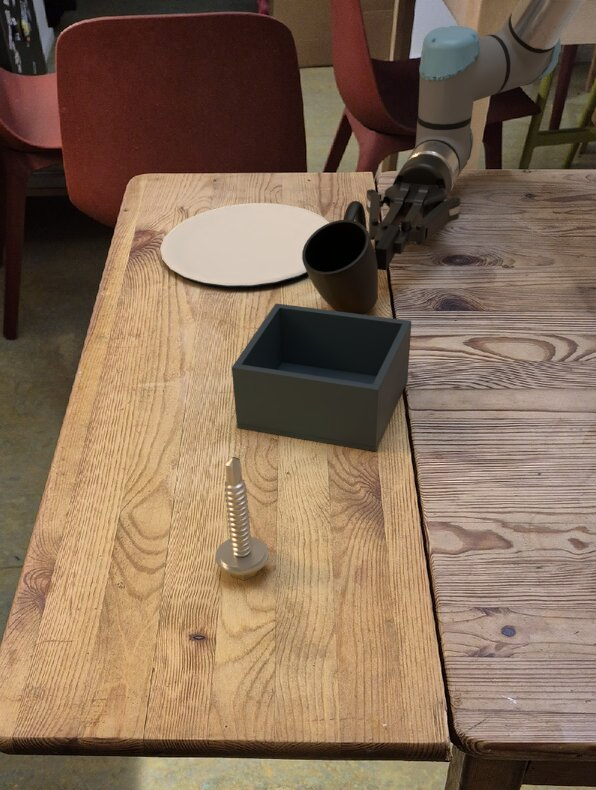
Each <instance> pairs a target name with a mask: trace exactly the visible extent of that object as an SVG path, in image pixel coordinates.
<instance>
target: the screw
mask: <svg viewBox="0 0 596 790" xmlns="http://www.w3.org/2000/svg"><path fill="white" fill-rule="evenodd" d="M242 472H243V471H242V463H241V459H240V458H239V457H237V456H232V457H231V458H229V459H227V460H226V462H225V476H226V481H225V482H224V493H225V494H224V496H225V503H226V509H227V510H226V514H227V519H228V520H227V522H228V529H229V530H228V531H229V533H228V534H229V538H228V539H226V540H224V541H223V542H222V543H221V544H220V545H218V547H217V548H216V552H215V561H216V564H217V566H218V568H220V569H221V570H222V571H223V572H225V573H226V574H230V577H232V578H236V579H238V580H241V581H246V580H248V579H251V578H252V577H255V576H257V575H258V571H260V570H261V569H262V568H264V567H265V566H266V565H267V563H268V561H269V558H270V552H269V547H268V546H267V544H266V543H265V542H264V541H263V540H261V539H259V538H257V537H254V536H252V535H251V534H252V533H251V526H250V523H251V522H250V512H249V505H248V504H249V501H248V494H247V492H248V491H247V490H248V489H247V483H246V482H245V479H243V473H242Z"/></svg>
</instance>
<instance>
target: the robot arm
mask: <svg viewBox="0 0 596 790" xmlns="http://www.w3.org/2000/svg"><path fill="white" fill-rule="evenodd" d="M586 2H587V0H518V2H517V4H516V5H515V7H514V8H513V10H512V12H511V13H510V15H509V16H508V17H507V19H506V21H505V22H504V24H503V26H502V27H501V28H500V29H499V30H498V31H496V32H492V33H489V34H485V35H482V36H479V32H477V30H476V29H474V28H472V27H469V26H463V25H449V26H439V27H437V28H434V29H432V30H430V31H429V32H428V33H426V35H425V36H424V38H423V42H422V49H421V52H420V63H419V67H418V68H419V69H418V72H419V85H418V86H419V88H418V89H419V91H418V110H417V111H418V112H417V120H416V133H415V134H416V135H415V136H416V137H415V145H414V148H413V149H412V151H411V153H410V155H409V156H408V158H407V159H406V161H404V164H403V165H402V167H401V168H400V170H399V172H398V174H397V175H396V177H395V179H394V181H393V184H392V185H391V186H389V187H387V188H386V189H385V191H384V192H383V193H382V192H378V191H376V189H367V190H366V197H365V199H366V203H365V209H366V212H367V213H368V214H369V215H368V233H369V236H370V239H371V241H373V248H374V251H375V254H376V259H377V266H378V271H387V270H388V267H389V266H390V264H391V262H392V260H393V259H394V257H395V256H396V254H397V255H402V254H404V252H405V250H406V248H407V247H408V246H410V244H411V243H414V244H415V245H416V246H423V245H425V244H427V242H428V241H430V240H431V239H432V238H433V237H434V236H435V235H437V234H438V233H439V232H440V231H441V230H442V229H443V228H444V227H445V226H447V225H448V224H449V223H451V222H453V221H456V220H458V219H459V218H460V210H461V201H462V200H461V197H458V196H456V197H451V198H449V196H450V194H451V193H452V190H453V189H454V186H455V185H456V183H457V181H458V178H459V176H460V175H461V173H462V171H463V170H464V169H465V167H466V166H467V165H468V161H469V160H470V159H471V155H472V151H473V147H474V133H473V131H472V129H471V126H472V118H473V109H474V102H476V101H479V100H482V99H485V98H488V97H489V98H490V97H492V96H495V95H497V94H500V93H503V92H507V91H510V90H513V89H516V88H520V87H524V86H529V85H532V84H534V83H536V82H537V81H538V80H541V79H544V78H545V77H547V76H548V75H550V74H552V72H553V71H554V69H555V68H556V67H557V65H558V62H559V59H560V53H561V52H562V42H561V38H562V37H563V36H564V33H565V32H566V31H567V29H568V28H569V26H570V25H571V24H572V22H573V20H574V19H575V18H576V16H578V13H579V12H580V10H581V9H582V7H583V6H584V5H585V3H586ZM384 205H386V206H387V208H388V209H389V210H388V211H387V212H386V215H385V216H384V217H383V219H382V221H381V222H380V212H382V208H384Z"/></svg>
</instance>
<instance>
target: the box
mask: <svg viewBox="0 0 596 790" xmlns="http://www.w3.org/2000/svg"><path fill="white" fill-rule="evenodd" d="M411 335H412V320H407V319H399V318H392V317H391V318H390V317H385V316H384V317H383V316H377V315H370V314H369V315H367V314H366V315H362V314H354V313H346V312H338V311H335V310H330V309H323V308H314V307H307V306H298V305H291V304H284V303H283V304H282V303H275V304H274V305H273V307H272V308H271V309H270V311H269V312H268V314H267V315H266V316H265V318H264V320H263V321H262V322H261V324H260V325H259V327H258V329H257V330H256V331H255V333H254V334H253V335H252V337H251V338H250V340H249V341H248V343H247V345H246V346H245V347H244V349H243V350H242V352H241V353H240V354H239V356H238V358H237V359H236V360H235V361H234V364H232V366H231V375H232V387H233V397H234V399H233V400H234V410H235V418H236V427H237V429H242V430H246V431H247V430H248V431H254V432H259V433H265V434H271V435H277V436H281V437H283V436H284V437H287V438H293V439H294V438H295V439H301V440H306V441H310V442H311V441H312V442H318V443H323V444H328V445H329V444H330V445H335V446H340V447H345V448H346V447H347V448H353V449H359V450H364V451H370V452H377V450H378V447H379V445H380V443H381V441H382V439H383V436H384V434H385V432H386V430H387V427H388V425H389V423H390V421H391V419H392V417H393V415H394V412H395V410H396V408H397V406H398V403H399V402H400V399H401V397H402V394H403V392H404V390H405V388H406V386H407V384H408V382H409V381H408V380H409V364H410V350H411V349H410V348H411Z"/></svg>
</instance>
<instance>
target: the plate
mask: <svg viewBox="0 0 596 790" xmlns="http://www.w3.org/2000/svg"><path fill="white" fill-rule="evenodd" d="M328 223H331V222H330V221H328V220H327V219H326V218H325V217H323V215H320V214H318V213H316V212H314V211H311V210H309V209H307V208H303V207H300V206H299V207H298V206H295V205H291V204H290V205H289V204H284V203H275V202H274V203H272V202H249V203H248V202H247V203H246V202H245V203H239V204H231V205H224V206H219V207H217V208H212V209H209V210H204V211H202V212H200V213H197V214H195V215H193V216H190V217H187V218H185V219H184V220H182V221H181V222H179V223H178V224H176V225H175V226H174V227H172V229H170V230H169V231H168V233H167V234H165V236H164V237H163V240H162V242H161V245H160V247H159V250H160V251H159V252H160V255H161V260H162V262H163V263H164V264H165V265H166V267H167V268H168V269H169V270H170V271H171V272H174V273H175V274H177V275H178V276H181V277H182V278H184V279H187V280H189V281H193V282H196V283H200V284H203V285H209V286H216V287H223V288H252V287H260V286H266V285H267V286H268V285H274V284H278V283H279V284H280V283H283V282H286V281H290V280H293V279H297V278H299V277H301V276H303V275H305V274H308V273H307V271H306V269H305V266H304V264H303V260H302V251H303V248H304V245H305V243H306V242H307V240H308V239H309V237H310V236H311V235H312V234H313V233H314V232H315V231H317V230H318V229H319V228H321V227H322V226H324V225H326V224H328Z"/></svg>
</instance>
